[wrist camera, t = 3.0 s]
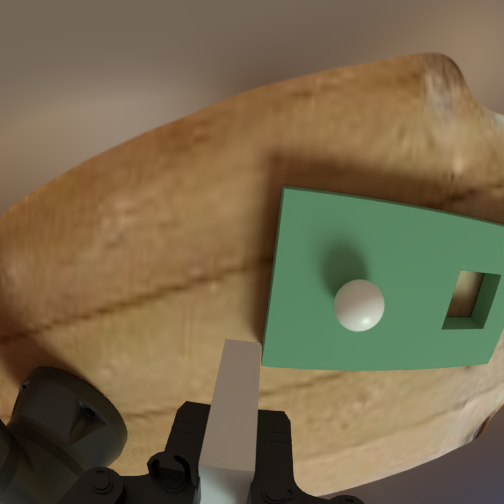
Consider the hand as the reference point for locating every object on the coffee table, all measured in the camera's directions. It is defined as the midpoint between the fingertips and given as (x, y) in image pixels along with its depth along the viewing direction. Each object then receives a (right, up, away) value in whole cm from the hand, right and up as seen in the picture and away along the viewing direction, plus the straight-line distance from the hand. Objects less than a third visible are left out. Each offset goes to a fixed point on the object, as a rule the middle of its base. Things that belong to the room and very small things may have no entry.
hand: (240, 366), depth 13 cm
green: (+14, +2, +12) cm, 18 cm away
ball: (+8, +1, +7) cm, 11 cm away
